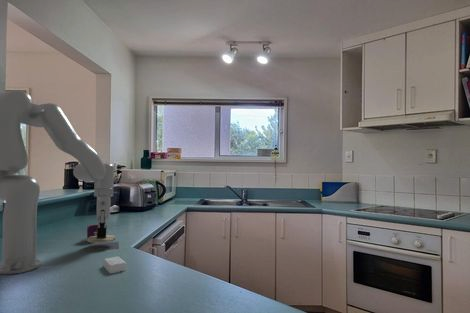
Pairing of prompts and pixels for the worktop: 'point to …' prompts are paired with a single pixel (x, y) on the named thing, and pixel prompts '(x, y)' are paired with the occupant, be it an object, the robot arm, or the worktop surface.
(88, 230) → the mug
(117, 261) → the soap
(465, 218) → the worktop surface
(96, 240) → the lid
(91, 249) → the mat
